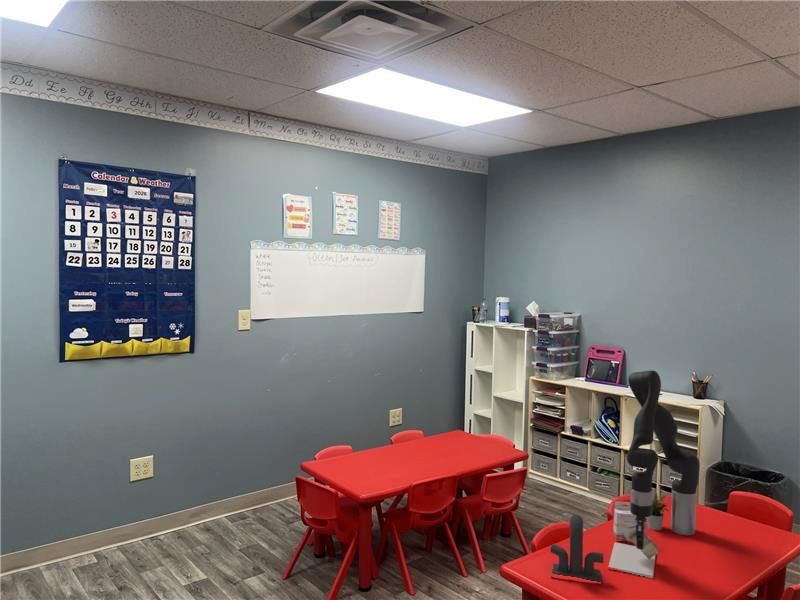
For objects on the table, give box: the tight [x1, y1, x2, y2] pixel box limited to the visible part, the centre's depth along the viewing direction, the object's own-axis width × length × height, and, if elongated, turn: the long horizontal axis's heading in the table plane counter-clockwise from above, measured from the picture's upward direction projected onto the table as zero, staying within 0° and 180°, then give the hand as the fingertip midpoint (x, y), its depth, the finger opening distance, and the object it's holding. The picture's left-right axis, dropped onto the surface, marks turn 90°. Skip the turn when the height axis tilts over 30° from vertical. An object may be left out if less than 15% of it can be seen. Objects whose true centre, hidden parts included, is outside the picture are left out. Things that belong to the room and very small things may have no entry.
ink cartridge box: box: [612, 501, 637, 542], centre depth 242 cm, size 9×5×15 cm, turn 84°
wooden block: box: [629, 529, 659, 559], centre depth 224 cm, size 4×4×10 cm
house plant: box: [646, 488, 671, 531], centre depth 254 cm, size 14×14×16 cm
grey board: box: [607, 541, 656, 579], centre depth 225 cm, size 22×15×1 cm
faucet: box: [550, 513, 604, 583], centre depth 217 cm, size 18×16×20 cm
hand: (640, 545), depth 224 cm, fingers closed on wooden block, 4 cm apart
